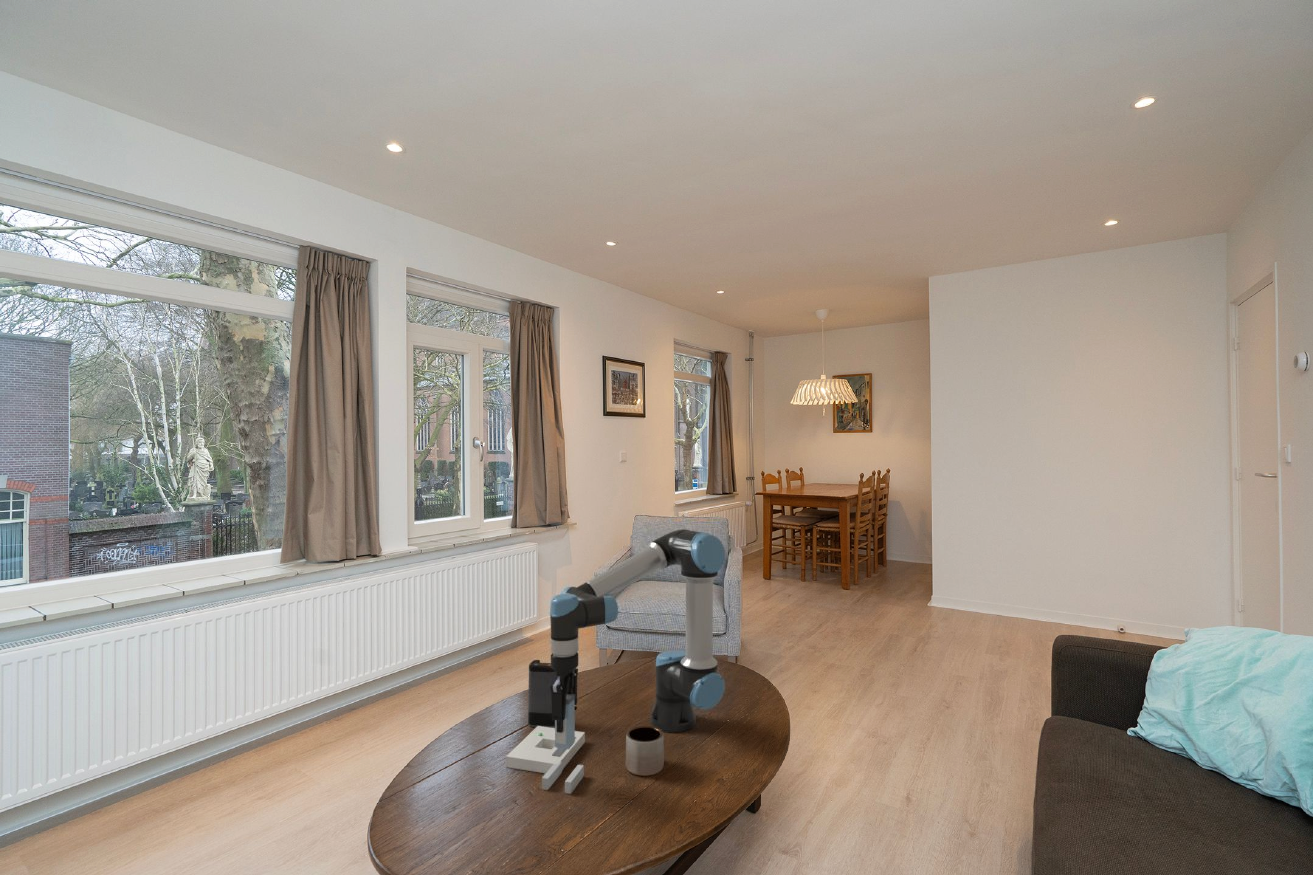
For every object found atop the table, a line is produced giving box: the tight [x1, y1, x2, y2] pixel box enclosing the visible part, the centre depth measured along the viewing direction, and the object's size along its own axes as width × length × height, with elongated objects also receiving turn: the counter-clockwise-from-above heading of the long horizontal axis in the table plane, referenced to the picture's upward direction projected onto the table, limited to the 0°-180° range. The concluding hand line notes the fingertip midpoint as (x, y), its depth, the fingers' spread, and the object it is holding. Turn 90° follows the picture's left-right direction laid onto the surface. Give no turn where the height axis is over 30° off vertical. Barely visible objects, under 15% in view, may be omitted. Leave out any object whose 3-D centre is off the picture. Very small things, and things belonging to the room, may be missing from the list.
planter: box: [625, 724, 665, 777], centre depth 173 cm, size 11×11×10 cm
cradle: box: [541, 762, 585, 795], centre depth 164 cm, size 8×9×3 cm
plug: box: [554, 694, 576, 749], centre depth 165 cm, size 4×4×13 cm
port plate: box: [505, 726, 586, 774], centre depth 180 cm, size 16×20×3 cm
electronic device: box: [527, 659, 556, 728], centre depth 200 cm, size 9×6×20 cm, turn 84°
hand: (565, 738), depth 165 cm, fingers closed on plug, 4 cm apart
